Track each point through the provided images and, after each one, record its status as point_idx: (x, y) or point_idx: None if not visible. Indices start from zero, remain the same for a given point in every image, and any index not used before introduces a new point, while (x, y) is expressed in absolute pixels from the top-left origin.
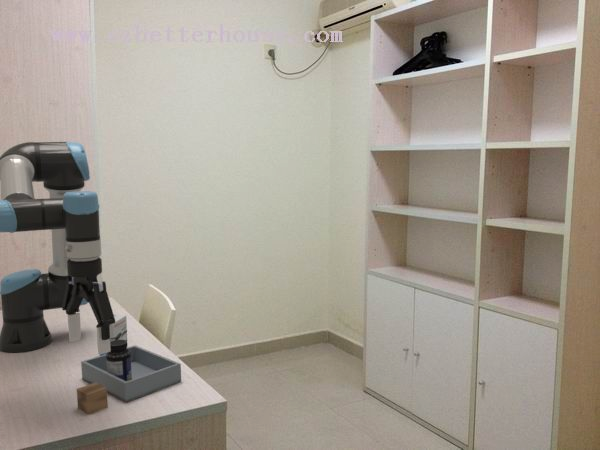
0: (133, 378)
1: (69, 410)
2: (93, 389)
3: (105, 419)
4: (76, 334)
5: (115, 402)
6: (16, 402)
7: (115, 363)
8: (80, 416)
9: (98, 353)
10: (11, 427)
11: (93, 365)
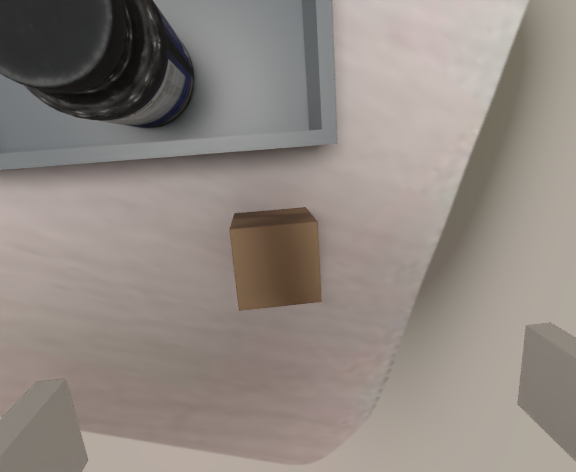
0: None
1: None
2: (292, 266)
3: (377, 248)
4: (44, 460)
5: (289, 170)
6: None
7: (157, 98)
8: None
9: (525, 406)
10: (232, 443)
11: (11, 153)
